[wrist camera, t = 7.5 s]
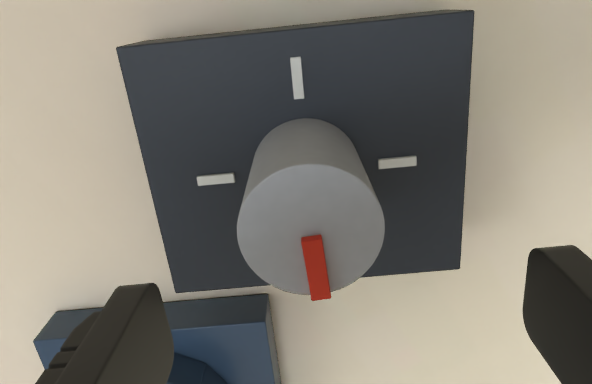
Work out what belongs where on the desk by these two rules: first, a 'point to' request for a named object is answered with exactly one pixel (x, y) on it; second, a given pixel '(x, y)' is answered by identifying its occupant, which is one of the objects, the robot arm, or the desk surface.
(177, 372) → the housing
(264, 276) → the program dial
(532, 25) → the desk surface
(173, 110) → the dial panel
